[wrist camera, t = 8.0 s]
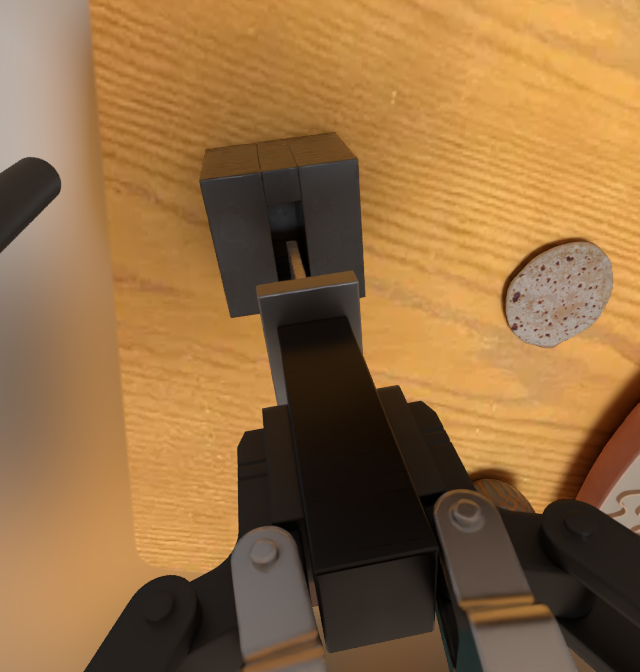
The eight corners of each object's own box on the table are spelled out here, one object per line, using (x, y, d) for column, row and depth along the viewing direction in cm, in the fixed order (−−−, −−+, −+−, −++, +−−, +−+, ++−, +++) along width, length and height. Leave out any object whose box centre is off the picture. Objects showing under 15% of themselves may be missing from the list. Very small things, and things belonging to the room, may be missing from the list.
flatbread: (499, 258, 32) (506, 265, 32) (612, 225, 32) (622, 230, 31) (504, 355, 37) (511, 363, 36) (603, 326, 37) (612, 333, 36)
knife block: (231, 269, 30) (230, 318, 25) (205, 149, 26) (198, 180, 21) (344, 251, 31) (365, 297, 26) (335, 132, 27) (358, 158, 22)
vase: (494, 520, 48) (541, 610, 41) (431, 515, 46) (468, 609, 39) (528, 470, 45) (586, 558, 37) (461, 463, 43) (508, 554, 36)
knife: (269, 329, 22) (313, 684, 10) (249, 222, 20) (279, 539, 8) (335, 318, 23) (452, 654, 11) (325, 211, 20) (467, 502, 8)
